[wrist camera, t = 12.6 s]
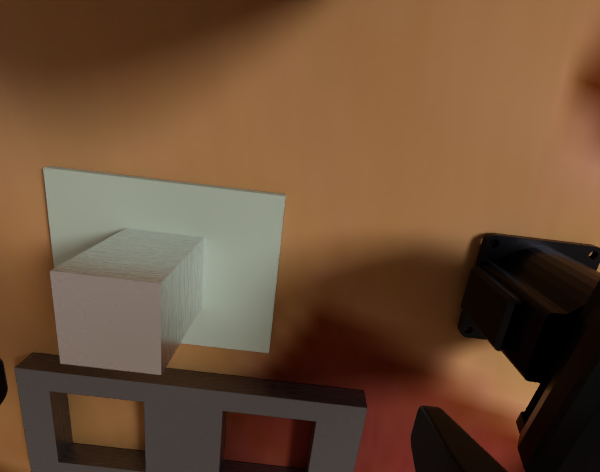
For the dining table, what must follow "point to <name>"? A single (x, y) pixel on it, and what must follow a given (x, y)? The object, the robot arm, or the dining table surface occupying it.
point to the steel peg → (128, 300)
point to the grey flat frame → (180, 418)
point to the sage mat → (186, 221)
